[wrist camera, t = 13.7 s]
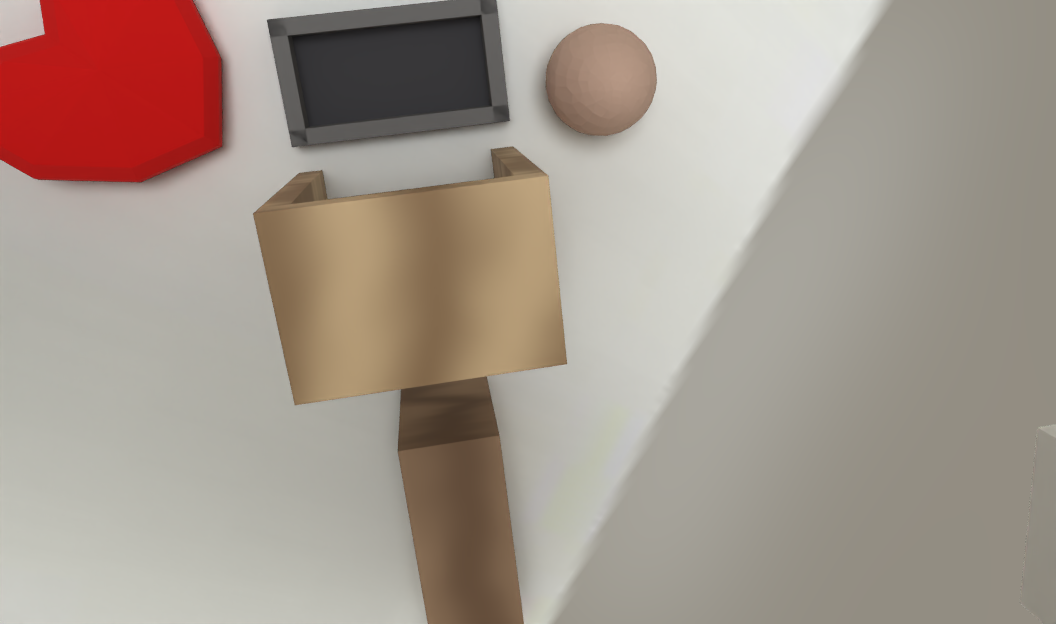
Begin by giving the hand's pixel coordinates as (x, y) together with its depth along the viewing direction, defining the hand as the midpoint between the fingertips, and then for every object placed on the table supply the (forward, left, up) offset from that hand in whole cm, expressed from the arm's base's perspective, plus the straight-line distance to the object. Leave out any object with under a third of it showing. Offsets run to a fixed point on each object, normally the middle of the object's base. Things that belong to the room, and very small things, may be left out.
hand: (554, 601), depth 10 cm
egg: (+8, +5, -35) cm, 36 cm away
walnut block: (-2, -18, -35) cm, 40 cm away
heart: (-15, +7, -35) cm, 39 cm away
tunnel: (-2, -2, -35) cm, 35 cm away
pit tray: (-2, +6, -35) cm, 35 cm away
